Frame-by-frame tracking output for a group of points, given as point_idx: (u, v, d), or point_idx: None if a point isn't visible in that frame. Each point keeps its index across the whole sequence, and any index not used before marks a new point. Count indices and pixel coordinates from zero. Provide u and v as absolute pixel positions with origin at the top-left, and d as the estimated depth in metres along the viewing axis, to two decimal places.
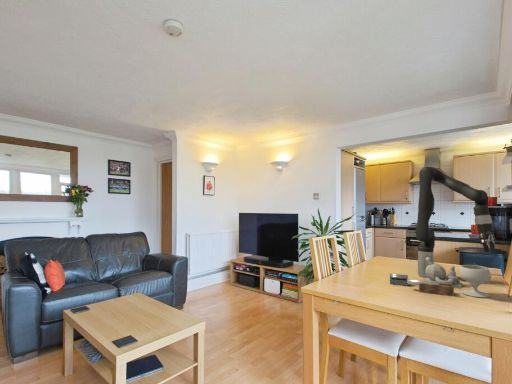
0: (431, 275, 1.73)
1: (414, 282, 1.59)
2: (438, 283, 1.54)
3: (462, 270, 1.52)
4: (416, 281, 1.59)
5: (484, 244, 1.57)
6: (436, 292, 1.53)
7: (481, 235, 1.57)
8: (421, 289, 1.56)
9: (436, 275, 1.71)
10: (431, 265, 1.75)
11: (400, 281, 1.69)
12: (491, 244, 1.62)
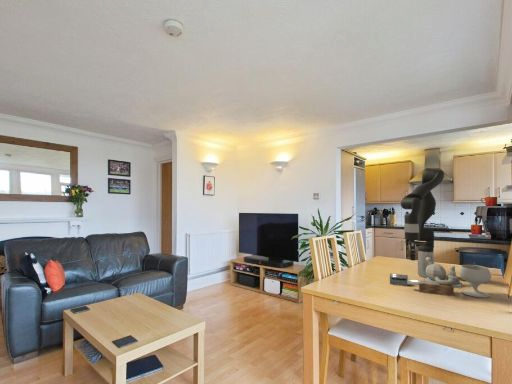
0: (431, 275, 1.73)
1: (414, 282, 1.59)
2: (438, 283, 1.54)
3: (462, 270, 1.52)
4: (416, 281, 1.59)
5: None
6: (436, 292, 1.53)
7: None
8: (421, 289, 1.56)
9: (436, 275, 1.71)
10: (431, 265, 1.76)
11: (400, 281, 1.69)
12: None
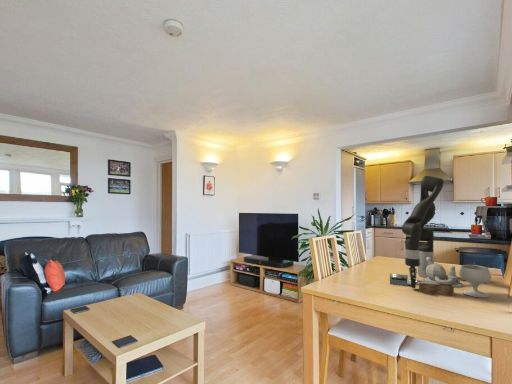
0: (431, 275, 1.74)
1: None
2: (438, 283, 1.54)
3: (462, 270, 1.52)
4: (416, 281, 1.59)
5: None
6: (436, 292, 1.53)
7: None
8: (421, 289, 1.56)
9: (436, 275, 1.72)
10: (431, 265, 1.76)
11: (400, 281, 1.69)
12: None
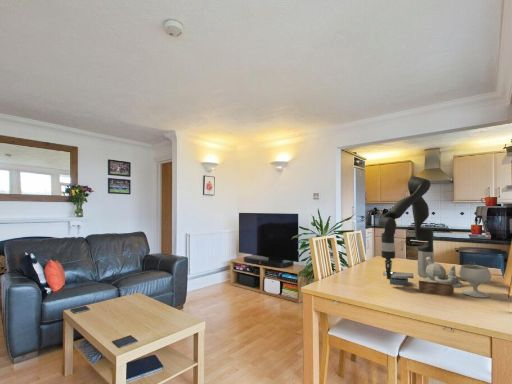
0: (431, 275, 1.74)
1: None
2: (412, 274, 1.60)
3: (462, 270, 1.52)
4: (391, 273, 1.65)
5: None
6: (436, 292, 1.53)
7: None
8: (421, 289, 1.56)
9: (435, 274, 1.72)
10: (431, 264, 1.77)
11: (400, 281, 1.69)
12: None
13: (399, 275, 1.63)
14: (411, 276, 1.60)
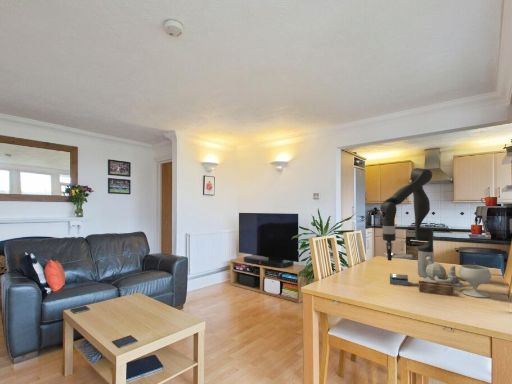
0: (431, 274, 1.75)
1: None
2: (411, 255, 1.70)
3: (462, 270, 1.52)
4: (392, 254, 1.75)
5: None
6: (436, 292, 1.53)
7: None
8: (421, 289, 1.56)
9: (435, 274, 1.73)
10: (431, 264, 1.77)
11: (400, 281, 1.69)
12: None
13: (399, 256, 1.73)
14: (410, 257, 1.70)
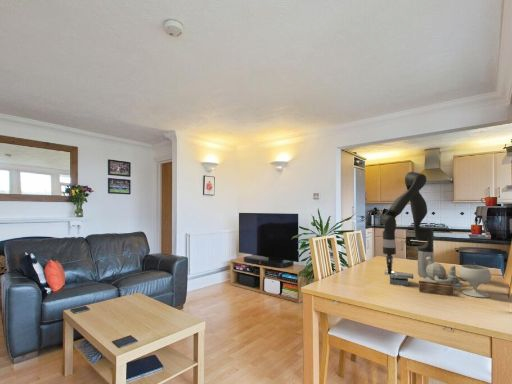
0: (431, 274, 1.75)
1: None
2: (412, 275, 1.70)
3: (462, 270, 1.52)
4: (392, 272, 1.75)
5: None
6: (436, 292, 1.53)
7: None
8: (421, 289, 1.56)
9: (435, 274, 1.73)
10: (431, 264, 1.77)
11: (400, 281, 1.69)
12: None
13: (400, 275, 1.73)
14: (411, 276, 1.70)
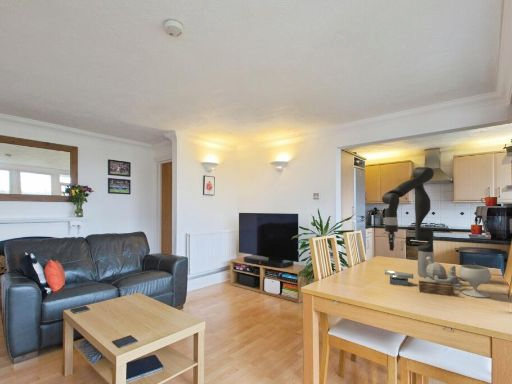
0: (431, 274, 1.75)
1: (391, 273, 1.75)
2: (412, 275, 1.70)
3: (462, 270, 1.52)
4: (392, 272, 1.75)
5: None
6: (436, 292, 1.53)
7: None
8: (421, 289, 1.56)
9: (435, 274, 1.73)
10: (431, 264, 1.78)
11: (400, 281, 1.69)
12: None
13: (400, 275, 1.73)
14: (411, 276, 1.70)
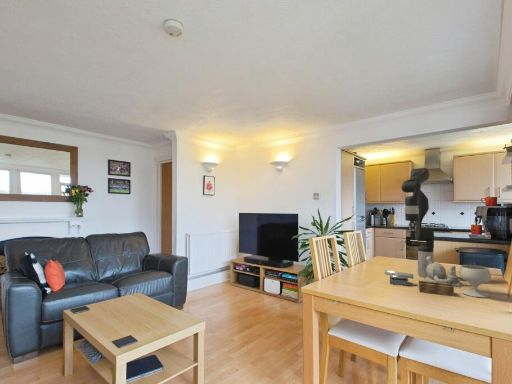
0: (431, 274, 1.75)
1: (391, 273, 1.75)
2: (412, 275, 1.70)
3: (462, 270, 1.52)
4: (392, 272, 1.75)
5: None
6: (436, 292, 1.53)
7: None
8: (421, 289, 1.56)
9: (435, 274, 1.73)
10: (431, 264, 1.78)
11: (400, 281, 1.69)
12: None
13: (400, 275, 1.73)
14: (411, 276, 1.70)
